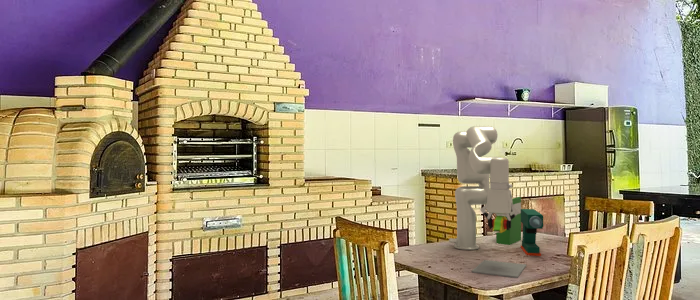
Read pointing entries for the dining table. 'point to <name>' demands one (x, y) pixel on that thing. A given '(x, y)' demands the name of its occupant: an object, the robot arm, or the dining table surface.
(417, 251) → the dining table surface
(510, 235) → the hardback book
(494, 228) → the toy measuring tape
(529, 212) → the power tool
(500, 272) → the mat
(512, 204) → the robot arm
